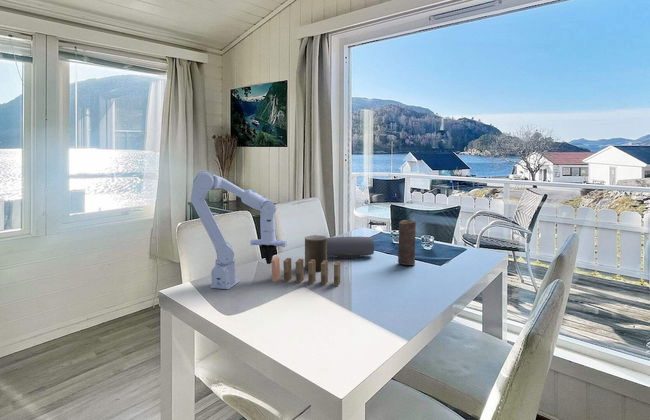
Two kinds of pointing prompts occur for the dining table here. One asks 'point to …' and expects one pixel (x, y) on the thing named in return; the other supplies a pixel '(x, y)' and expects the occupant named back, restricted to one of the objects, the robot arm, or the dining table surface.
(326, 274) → the domino
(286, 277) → the domino
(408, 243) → the brown wooden cylinder
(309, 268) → the domino
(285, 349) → the dining table surface
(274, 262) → the domino
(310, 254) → the pillar candle
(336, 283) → the domino
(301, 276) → the domino
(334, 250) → the bluetooth speaker
